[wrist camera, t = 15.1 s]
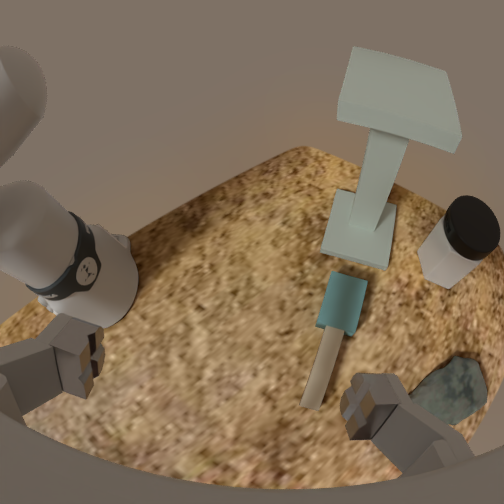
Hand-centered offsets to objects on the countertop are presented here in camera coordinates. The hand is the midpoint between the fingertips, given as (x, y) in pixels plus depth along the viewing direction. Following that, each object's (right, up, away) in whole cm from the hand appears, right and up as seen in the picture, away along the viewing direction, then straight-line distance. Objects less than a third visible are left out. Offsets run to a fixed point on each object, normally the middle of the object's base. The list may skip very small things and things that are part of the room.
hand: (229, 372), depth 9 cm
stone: (+25, -17, +23) cm, 38 cm away
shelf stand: (+17, +7, +35) cm, 39 cm away
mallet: (+11, -8, +29) cm, 32 cm away
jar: (+30, +2, +31) cm, 43 cm away
